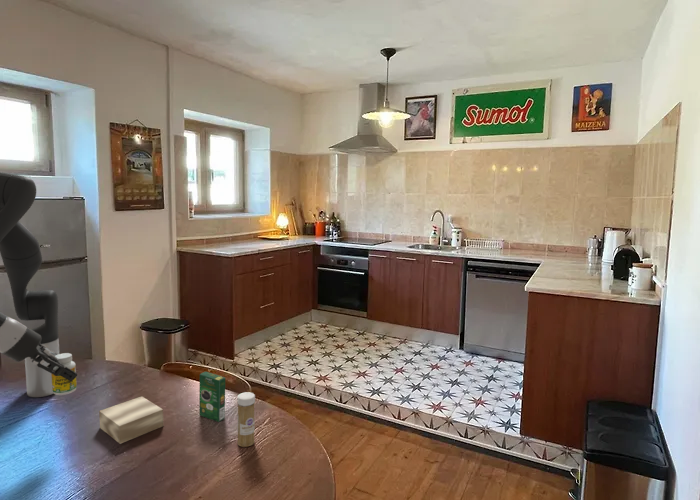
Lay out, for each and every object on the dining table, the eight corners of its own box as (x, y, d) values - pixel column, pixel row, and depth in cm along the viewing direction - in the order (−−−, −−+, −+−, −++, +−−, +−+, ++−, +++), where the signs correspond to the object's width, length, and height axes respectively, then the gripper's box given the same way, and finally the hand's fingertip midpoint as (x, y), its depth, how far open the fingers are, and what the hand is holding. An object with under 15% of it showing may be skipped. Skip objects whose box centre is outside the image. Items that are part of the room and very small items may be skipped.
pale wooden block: (99, 427, 125) (99, 410, 124) (142, 412, 134) (141, 396, 134) (120, 443, 118) (119, 426, 117) (163, 426, 127) (163, 409, 126)
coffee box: (226, 418, 132) (226, 376, 130) (219, 423, 130) (219, 379, 128) (206, 412, 136) (205, 370, 134) (198, 416, 133) (198, 373, 131)
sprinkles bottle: (245, 449, 117) (245, 400, 115) (233, 443, 119) (233, 395, 118) (258, 441, 121) (258, 394, 119) (246, 436, 123) (246, 389, 121)
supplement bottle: (76, 385, 121) (74, 350, 119) (77, 392, 116) (75, 357, 115) (52, 389, 118) (50, 354, 116) (52, 397, 113) (50, 361, 112)
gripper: (29, 333, 104) (89, 370, 114) (21, 319, 115) (77, 353, 124) (2, 360, 101) (66, 396, 111) (-4, 343, 112) (55, 376, 121)
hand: (71, 373), depth 118 cm, fingers closed on supplement bottle, 5 cm apart
